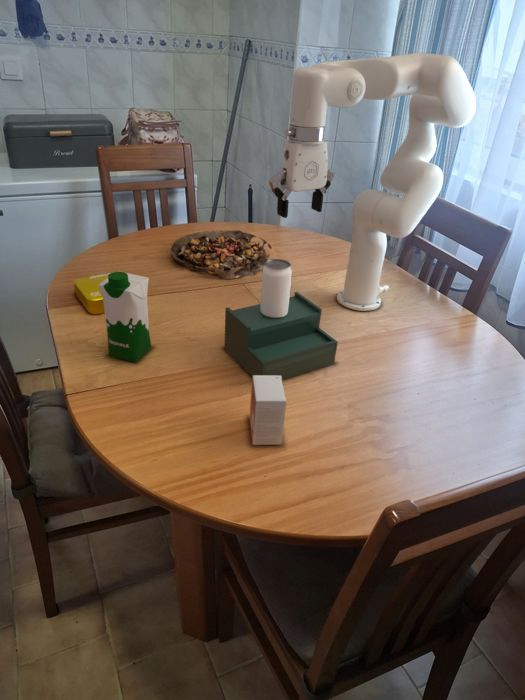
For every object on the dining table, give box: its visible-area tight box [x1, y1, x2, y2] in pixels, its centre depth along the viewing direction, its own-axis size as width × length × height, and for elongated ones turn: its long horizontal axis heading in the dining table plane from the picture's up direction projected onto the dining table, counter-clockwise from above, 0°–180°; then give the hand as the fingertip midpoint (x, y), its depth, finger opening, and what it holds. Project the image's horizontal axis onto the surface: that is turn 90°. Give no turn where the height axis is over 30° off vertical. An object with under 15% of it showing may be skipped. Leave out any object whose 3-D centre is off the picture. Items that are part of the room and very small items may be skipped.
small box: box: [249, 375, 287, 446], centre depth 95 cm, size 8×6×10 cm
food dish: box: [169, 229, 273, 280], centre depth 168 cm, size 35×33×8 cm
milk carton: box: [99, 271, 152, 363], centre depth 113 cm, size 9×9×20 cm
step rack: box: [223, 291, 338, 381], centre depth 118 cm, size 17×20×11 cm
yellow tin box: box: [73, 270, 128, 315], centre depth 138 cm, size 15×15×5 cm
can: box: [259, 258, 293, 318], centre depth 114 cm, size 6×6×12 cm
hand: (299, 213), depth 118 cm, fingers open, 9 cm apart
